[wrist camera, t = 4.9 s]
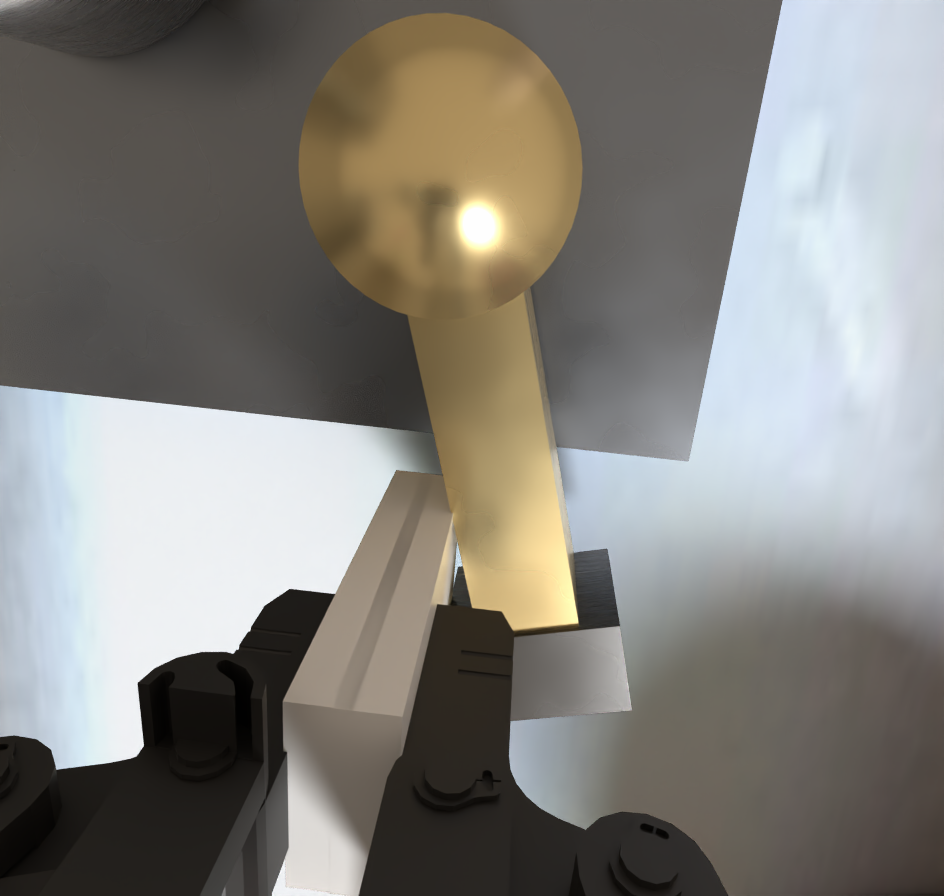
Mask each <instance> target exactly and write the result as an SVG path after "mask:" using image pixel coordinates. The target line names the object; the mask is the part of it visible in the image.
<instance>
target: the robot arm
mask: <svg viewBox="0 0 944 896" xmlns="http://www.w3.org/2000/svg"><path fill="white" fill-rule="evenodd" d="M456 547H457V537H456V533H455V528H454V524H453V513H451V510H450V506H449V501H448V497H447V492H446V487H445V483H444V478H443V475H435V474H427V473H418V472H408V471H399V470H396V472H395V474H394V476H393V478H392V480H391V482H390V484H389V486H388V488H387V490H386V492H385V494H384V496H383V498H382V500H381V502H380V504H379V506H378V508H377V510H376V512H375V515H374V517H373V519H372V521H371V523H370V525H369V527H368V529H367V531H366V533H365V535H364V537H363V539H362V541H361V543H360V545H359V547H358V549H357V551H356V553H355V555H354V557H353V559H352V561H351V563H350V565H349V567H348V569H347V571H346V574H345V576H344V578H343V580H342V582H341V584H340V586H339V588H338V590H337V592H336V594H329V593H320V592H312V591H303V590H294V589H289V590H288V591H286V592H285V593H283V594H282V595H280V596H279V597H277V598H276V599H274V600H273V601H271V602H270V603H268V604H267V605H265V606H264V608H263V609H262V611H261V613H260V614H259V616H258V617H257V619H256V620H255V622H254V623H253V625H252V627H251V631H250V632H248V633H247V634H246V636H245V637H244V639H243V640H242V642H241V644H240V645H239V650H236V651H235V653H234V654H231V653H227V652H200V653H196V654H191V655H187V656H182V657H178V658H175V659H173V660H171V661H169V662H167V663H165V664H163V665H161V666H159V667H157V668H155V669H153V670H152V671H151V672H150V673H149V674H148V675H146V676H145V677H144V678H143V679H142V680H141V681H140V682H138V692H139V702H140V711H141V721H142V731H143V740H144V747H143V748H142V750H141V751H140V753H139V754H138V755H137V757H134V758H131V759H127V760H122V761H117V762H112V763H106V764H98V765H90V766H83V767H75V768H67V769H59V770H56V766H55V762H54V759H53V755H52V752H51V749H49V748H48V747H46V746H45V745H44V744H42V743H41V742H39V741H38V740H37V739H31V738H25V737H20V736H6V737H0V896H272V891H273V889H274V886H275V883H276V880H277V878H278V875H279V872H280V870H281V867H282V864H283V862H284V859H285V873H286V887H291V888H299V889H306V890H313V891H321V892H328V893H330V894H338V895H345V896H728V894H727V893H726V891H725V889H724V887H723V885H722V883H721V881H720V879H719V877H718V875H717V874H716V872H715V870H714V868H713V866H712V864H711V863H710V861H709V860H708V858H707V857H706V856H705V854H704V853H703V852H702V850H701V849H700V848H699V846H698V845H697V844H696V842H695V841H694V840H692V839H691V838H690V837H688V836H687V835H686V834H684V833H683V832H682V831H680V830H679V829H678V828H676V827H675V826H674V825H673V824H670V823H668V822H665V821H663V820H660V819H658V818H655V817H653V816H650V815H648V814H641V813H629V812H619V813H615V814H612V815H608V816H605V817H601V818H599V819H598V820H597V821H595V822H594V823H593V824H592V825H591V826H590V827H589V828H587V829H586V830H584V829H582V828H580V827H577V826H575V825H572V824H570V823H568V822H565V821H563V820H561V819H558V818H557V817H555V816H553V815H551V814H549V813H547V812H545V811H544V810H542V809H540V808H539V807H538V806H537V805H536V804H534V803H533V802H532V801H531V800H530V799H528V798H527V797H526V796H525V794H524V793H523V792H522V790H521V789H520V788H519V786H518V785H517V784H516V782H515V779H514V777H513V775H512V772H511V770H510V763H509V740H510V718H511V696H512V674H513V653H514V631H513V630H512V628H511V626H510V624H509V623H508V621H507V619H506V618H505V616H504V614H503V613H502V611H495V610H486V609H477V608H468V607H460V606H451V601H452V596H453V584H454V572H455V559H456Z"/></svg>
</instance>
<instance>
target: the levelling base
mask: <svg viewBox="0 0 944 896" xmlns="http://www.w3.org/2000/svg"><path fill="white" fill-rule="evenodd" d="M781 5H782V0H0V385H2V386H11V387H20V388H29V389H38V390H47V391H56V392H65V393H74V394H83V395H92V396H101V397H110V398H119V399H128V400H137V401H147V402H156V403H165V404H174V405H183V406H192V407H201V408H210V409H219V410H228V411H237V412H246V413H255V414H264V415H273V416H282V417H291V418H300V419H310V420H319V421H328V422H337V423H346V424H355V425H364V426H373V427H382V428H391V429H400V430H409V431H418V432H427V433H433V429H432V424H431V420H430V415H429V411H428V406H427V402H426V397H425V393H424V388H423V383H422V379H421V374H420V370H419V365H418V361H417V356H416V352H415V347H414V343H413V338H412V334H411V329H410V325H409V320H408V316H407V315H406V314H403V313H399V312H396V311H394V310H392V309H390V308H387V307H385V306H383V305H381V304H379V303H377V302H376V301H374V300H372V299H371V298H369V297H367V296H366V295H364V294H363V293H362V292H360V291H359V290H358V289H357V288H355V287H354V286H353V285H351V284H350V283H349V282H348V281H347V280H346V279H345V278H344V277H343V276H342V275H341V274H340V273H339V271H338V270H337V269H336V268H335V266H334V265H333V264H332V263H331V261H330V260H329V259H328V257H327V256H326V254H325V253H324V251H323V249H322V248H321V246H320V244H319V243H318V241H317V239H316V237H315V235H314V232H313V230H312V228H311V226H310V223H309V220H308V217H307V214H306V211H305V208H304V204H303V199H302V194H301V189H300V180H299V146H300V140H301V134H302V128H303V124H304V121H305V118H306V114H307V111H308V108H309V105H310V103H311V101H312V99H313V96H314V94H315V92H316V90H317V88H318V86H319V85H320V83H321V81H322V80H323V78H324V76H325V75H326V73H327V72H328V70H329V69H330V68H331V67H332V66H333V64H334V63H335V62H336V61H337V59H338V58H339V57H340V56H341V55H342V54H343V53H344V52H345V51H346V50H347V49H348V48H349V47H351V46H352V45H353V44H354V43H355V42H356V41H358V40H359V39H361V38H362V37H364V36H365V35H366V34H368V33H369V32H371V31H373V30H375V29H377V28H379V27H381V26H383V25H385V24H387V23H389V22H392V21H395V20H398V19H401V18H404V17H408V16H414V15H420V14H426V13H449V14H457V15H464V16H468V17H472V18H475V19H479V20H482V21H485V22H488V23H490V24H492V25H494V26H496V27H498V28H501V29H503V30H505V31H506V32H508V33H509V34H511V35H512V36H514V37H515V38H517V39H518V40H520V41H521V42H522V43H524V44H525V45H526V46H527V47H528V48H529V49H530V50H532V51H533V52H534V53H535V54H536V55H537V56H538V57H539V58H540V59H541V61H542V62H543V63H544V64H545V65H546V66H547V68H548V69H549V70H550V71H551V73H552V74H553V76H554V77H555V79H556V80H557V82H558V83H559V85H560V86H561V88H562V90H563V92H564V94H565V96H566V98H567V100H568V103H569V105H570V107H571V110H572V113H573V116H574V119H575V122H576V125H577V129H578V134H579V139H580V144H581V153H582V167H583V168H582V186H581V193H580V199H579V204H578V209H577V212H576V215H575V218H574V222H573V225H572V228H571V230H570V232H569V234H568V236H567V239H566V241H565V243H564V245H563V247H562V248H561V250H560V252H559V253H558V255H557V256H556V258H555V260H554V261H553V262H552V264H551V265H550V266H549V267H548V269H547V270H546V271H545V272H544V274H543V275H542V276H541V277H540V278H539V279H538V280H537V281H536V282H535V283H534V284H532V285H531V286H530V288H531V294H532V300H533V307H534V313H535V319H536V325H537V331H538V337H539V343H540V350H541V356H542V362H543V368H544V374H545V380H546V386H547V393H548V399H549V405H550V411H551V417H552V423H553V430H554V436H555V442H556V447H563V448H572V449H581V450H590V451H599V452H608V453H617V454H626V455H636V456H645V457H654V458H663V459H672V460H681V461H689V456H690V452H691V447H692V442H693V437H694V432H695V427H696V422H697V417H698V412H699V407H700V402H701V398H702V393H703V388H704V383H705V378H706V373H707V368H708V363H709V358H710V353H711V348H712V344H713V339H714V334H715V329H716V324H717V319H718V314H719V309H720V304H721V299H722V295H723V290H724V285H725V280H726V275H727V270H728V265H729V260H730V255H731V250H732V245H733V241H734V236H735V231H736V226H737V221H738V216H739V211H740V206H741V201H742V196H743V191H744V187H745V182H746V177H747V172H748V167H749V162H750V157H751V152H752V147H753V142H754V137H755V133H756V128H757V123H758V118H759V113H760V108H761V103H762V98H763V93H764V88H765V83H766V79H767V74H768V69H769V64H770V59H771V54H772V49H773V44H774V39H775V34H776V30H777V25H778V20H779V15H780V10H781Z"/></svg>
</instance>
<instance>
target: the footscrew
mask: <svg viewBox="0 0 944 896" xmlns="http://www.w3.org/2000/svg"><path fill="white" fill-rule="evenodd" d="M582 168H583V167H582V153H581V144H580V139H579V134H578V129H577V125H576V122H575V119H574V116H573V113H572V110H571V107H570V105H569V103H568V100H567V98H566V96H565V94H564V92H563V90H562V88H561V86H560V85H559V83H558V82H557V80H556V79H555V77H554V76H553V74H552V73H551V71H550V70H549V69H548V68H547V66H546V65H545V64H544V63H543V62H542V61H541V59H540V58H539V57H538V56H537V55H536V54H535V53H534V52H533V51H532V50H530V49H529V48H528V47H527V46H526V45H525V44H524V43H522V42H521V41H520V40H518V39H517V38H515V37H514V36H512V35H511V34H509V33H508V32H506V31H505V30H503V29H501V28H498V27H496V26H494V25H492V24H490V23H488V22H485V21H482V20H479V19H475V18H472V17H468V16H464V15H457V14H449V13H426V14H420V15H414V16H408V17H404V18H401V19H398V20H395V21H392V22H389V23H387V24H385V25H383V26H381V27H379V28H377V29H375V30H373V31H371V32H369V33H368V34H366V35H365V36H364V37H362V38H361V39H359V40H358V41H356V42H355V43H354V44H353V45H352V46H351V47H349V48H348V49H347V50H346V51H345V52H344V53H343V54H342V55H341V56H340V57H339V58H338V59H337V61H336V62H335V63H334V64H333V66H332V67H331V68H330V69H329V70H328V72H327V73H326V75H325V76H324V78H323V80H322V81H321V83H320V85H319V86H318V88H317V90H316V92H315V94H314V96H313V99H312V101H311V103H310V105H309V108H308V111H307V114H306V118H305V121H304V124H303V128H302V134H301V140H300V146H299V180H300V189H301V194H302V199H303V204H304V208H305V211H306V214H307V217H308V220H309V223H310V226H311V228H312V230H313V232H314V235H315V237H316V239H317V241H318V243H319V244H320V246H321V248H322V249H323V251H324V253H325V254H326V256H327V257H328V259H329V260H330V261H331V263H332V264H333V265H334V266H335V268H336V269H337V270H338V271H339V273H340V274H341V275H342V276H343V277H344V278H345V279H346V280H347V281H348V282H349V283H350V284H351V285H353V286H354V287H355V288H357V289H358V290H359V291H360V292H362V293H363V294H364V295H366V296H367V297H369V298H371V299H372V300H374V301H376V302H377V303H379V304H381V305H383V306H385V307H387V308H390V309H392V310H394V311H396V312H399V313H403V314H406V315H407V316H408V320H409V325H410V329H411V334H412V338H413V343H414V347H415V352H416V356H417V361H418V365H419V370H420V374H421V379H422V383H423V388H424V393H425V397H426V402H427V406H428V411H429V415H430V420H431V424H432V429H433V433H434V438H435V442H436V447H437V451H438V456H439V460H440V465H441V469H442V474H443V478H444V483H445V487H446V492H447V497H448V501H449V506H450V510H451V513H453V524H454V528H455V533H456V537H457V542H458V546H459V551H460V555H461V560H462V564H463V566H461V567H458V569H457V574H456V578H455V583H454V587H453V596H452V601H451V606H460V607H468V608H477V609H486V610H495V611H502V613H503V614H504V616H505V618H506V619H507V621H508V623H509V624H510V626H511V628H512V630H513V631H514V653H513V674H512V696H511V718H510V721H516V720H527V719H539V718H550V717H562V716H573V715H585V714H597V713H608V712H620V711H631V710H632V706H631V699H630V693H629V686H628V679H627V672H626V665H625V658H624V651H623V644H622V637H621V630H620V624H619V617H618V611H617V605H616V599H615V593H614V587H613V581H612V575H611V569H610V563H609V556H608V550H607V549H601V550H592V551H584V552H576V553H574V552H573V546H572V540H571V534H570V528H569V522H568V516H567V509H566V503H565V497H564V491H563V485H562V479H561V473H560V466H559V460H558V454H557V448H556V442H555V436H554V430H553V423H552V417H551V411H550V405H549V399H548V393H547V386H546V380H545V374H544V368H543V362H542V356H541V350H540V343H539V337H538V331H537V325H536V319H535V313H534V307H533V300H532V294H531V288H530V286H531V285H532V284H534V283H535V282H536V281H537V280H538V279H539V278H540V277H541V276H542V275H543V274H544V272H545V271H546V270H547V269H548V267H549V266H550V265H551V264H552V262H553V261H554V260H555V258H556V256H557V255H558V253H559V252H560V250H561V248H562V247H563V245H564V243H565V241H566V239H567V236H568V234H569V232H570V230H571V228H572V225H573V222H574V218H575V215H576V212H577V209H578V204H579V199H580V193H581V186H582Z"/></svg>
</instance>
